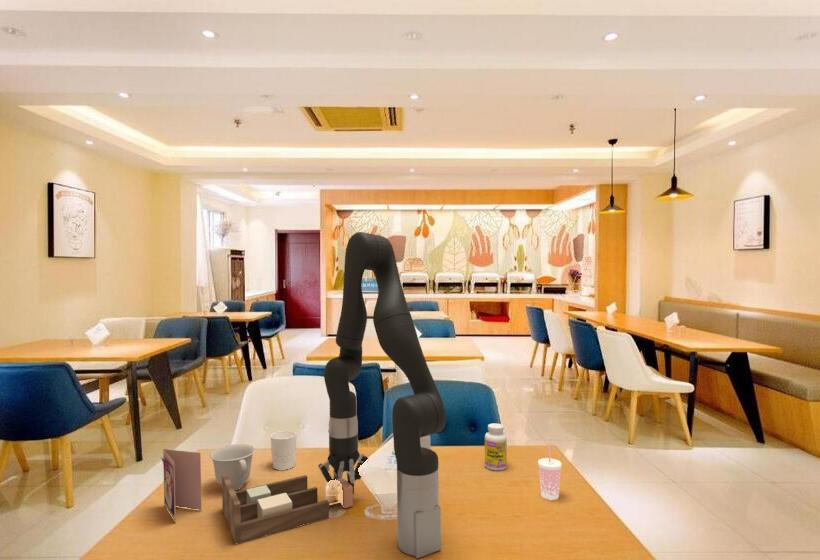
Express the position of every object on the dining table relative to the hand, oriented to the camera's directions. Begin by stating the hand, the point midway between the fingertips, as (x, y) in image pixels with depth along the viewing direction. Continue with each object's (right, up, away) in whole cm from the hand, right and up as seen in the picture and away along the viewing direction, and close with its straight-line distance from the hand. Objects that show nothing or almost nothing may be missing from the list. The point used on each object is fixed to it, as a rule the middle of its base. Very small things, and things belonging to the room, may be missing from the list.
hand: (344, 497), depth 123 cm
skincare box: (+20, -1, +28) cm, 35 cm away
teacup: (-32, -2, +9) cm, 33 cm away
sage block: (-21, -2, -3) cm, 22 cm away
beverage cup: (+55, -1, +3) cm, 55 cm away
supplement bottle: (+44, -1, +22) cm, 49 cm away
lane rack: (-17, -2, -5) cm, 18 cm away
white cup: (-22, -2, +24) cm, 33 cm away
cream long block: (-9, -1, -5) cm, 10 cm away
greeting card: (-41, -2, -3) cm, 41 cm away
